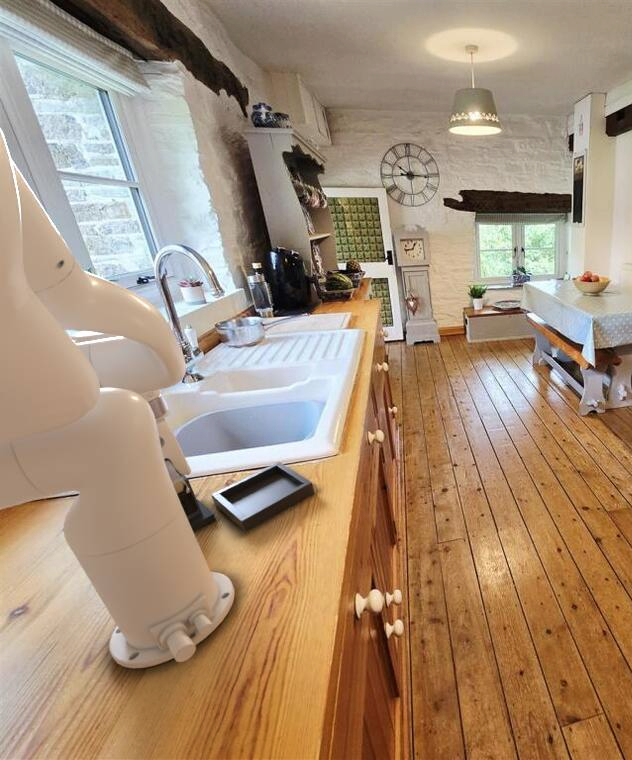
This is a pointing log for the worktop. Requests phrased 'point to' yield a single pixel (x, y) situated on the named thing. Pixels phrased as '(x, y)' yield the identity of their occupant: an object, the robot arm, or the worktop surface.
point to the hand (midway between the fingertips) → (175, 503)
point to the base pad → (262, 495)
